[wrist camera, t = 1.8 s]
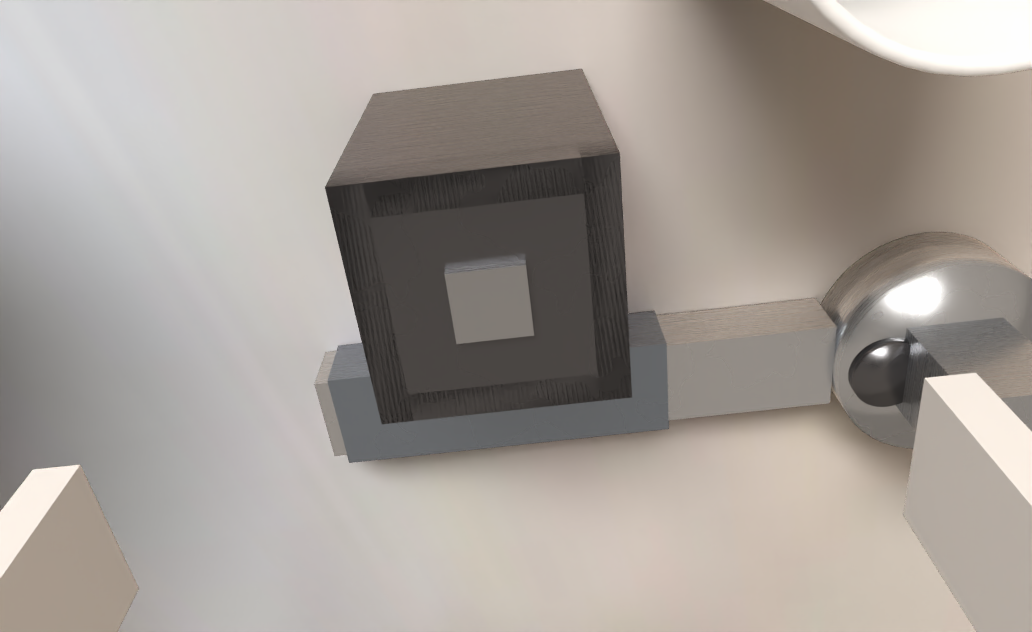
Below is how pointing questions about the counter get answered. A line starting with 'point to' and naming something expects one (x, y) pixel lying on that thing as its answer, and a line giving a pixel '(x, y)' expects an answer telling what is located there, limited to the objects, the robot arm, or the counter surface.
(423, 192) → the socket
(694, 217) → the counter surface
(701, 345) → the ratchet
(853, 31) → the mug
